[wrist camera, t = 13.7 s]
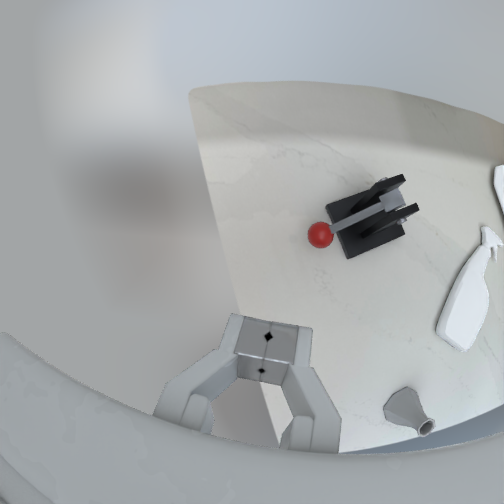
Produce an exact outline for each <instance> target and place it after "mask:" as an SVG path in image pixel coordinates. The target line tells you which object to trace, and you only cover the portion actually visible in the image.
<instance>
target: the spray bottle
mask: <svg viewBox="0 0 504 504" xmlns="http://www.w3.org/2000/svg"><path fill="white" fill-rule="evenodd" d="M481 231H482V245H481V246H479V247H478V248H477V249H476V250H475V252H474V253H473V254H472V256H471V257H470V258H469V259H468V261H467V262H466V264H465V265H464V266H463V268H462V269H461V271H460V273H459V275H458V277H457V278H456V281H455V283H454V285H453V287H452V289H451V291H450V293H449V296H448V298H447V301H446V303H445V306H444V308H443V310H442V313H441V315H440V318H439V321H438V323H437V327H436V333H437V335H438V336H440V337H441V338H442V339H444V340H445V341H446V342H447V343H449V344H450V345H451V346H452V347H454V348H456V349H458V350H459V351H463V352H466V351H468V350H469V348H470V347H471V345H472V344H473V343H474V341H475V339H476V337H477V335H478V333H479V331H480V328H481V326H482V324H483V322H484V319H485V316H486V313H487V311H488V306H489V294H488V290H487V286H486V283H485V280H484V272H485V267H486V266H487V264H488V260H489V259H490V257H491V252H490V250H491V247H492V248H493V252H494V259H495V262H497V245H499V246H500V247H503V243H502V242H501V239H500V238H499V237H498V236H497V235H496V234H495V233H494V231H493V230H492V229H491V228H490V227H486V226H484V227H481Z"/></svg>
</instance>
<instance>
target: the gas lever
mask: <svg viewBox="0 0 504 504" xmlns="http://www.w3.org/2000/svg"><path fill="white" fill-rule="evenodd" d="M379 198H380V200H381V202H378V203H376V204H374V205H372V206H370V207H368V208H366V209H364V210H362V211H360V212H358V213H356V214H354V215H351V216H349V217H347V218H345V219H343V220H341V221H339V222H337V223H335V224H333V225H331V226H330V225H328V224H327V223H324V222H317V223H314V224H313V225H312V226H311V227H310V228H309V230H308V240H309V242H310V243H311V244H312V245H313V246H314V247H316V248H325V247H327V246H329V245H330V244H331V243H332V241H333V238H334V234H335V233H337V232H339V231H341V230H343V229H345V228H347V227H350V226H352V225H354V224H356V223H358V222H360V221H362V220H365V219H367V218H369V217H371V216H373V215H375V214H377V213H379V212H381V211H384V210H385V211H386V213H391V212H393V211H395V210H397V209H399V208H401V207H403V206H405V205H406V204H405V201H404V199H403V197H402V195H401V193H400V191H399V189H398V187H397V188H395V189H393V190H391V191H389V192H387V193H385V194H383V195H381V196H379Z"/></svg>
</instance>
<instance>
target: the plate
mask: <svg viewBox="0 0 504 504" xmlns="http://www.w3.org/2000/svg"><path fill="white" fill-rule="evenodd" d="M494 188H495V190H496V193H497V196H498V199H499V202H500V205H501V208H502V211H503V214H504V165H501V166H496V167H495V172H494Z"/></svg>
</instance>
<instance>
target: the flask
mask: <svg viewBox="0 0 504 504" xmlns="http://www.w3.org/2000/svg"><path fill="white" fill-rule="evenodd" d="M384 413H385V417H386V420H388V421H390V422H392V423H394V424H396V425H402V426H407V427H412V428H414V429H415V430H416V431H417V432H418V435H419V436H422V437H425V436H427V435H428V434H430V433H431V432H432V430H433V429H434V427H435V420H433V419H431V418H428V417H427V416H426V414H425V413H424V411H423V409H422V406H421V403H420V400H419V397H418V394H417V392H415V391H413V390H412V389H410V388H408V387H406V388H404V389H402V390H401V391H399V392H397V393H395V394H393V396H392V397H391V398H390V400H389V401H388V403H387V404H386V405H385V407H384Z"/></svg>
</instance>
